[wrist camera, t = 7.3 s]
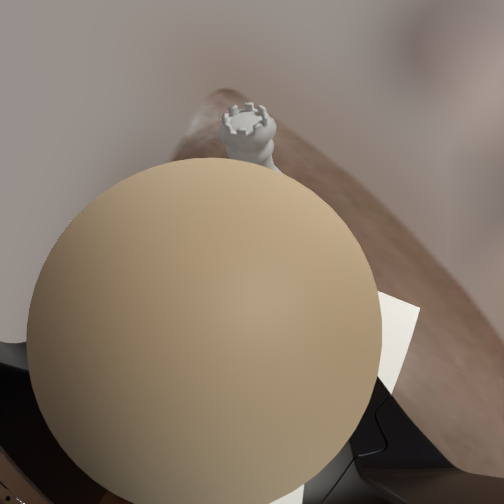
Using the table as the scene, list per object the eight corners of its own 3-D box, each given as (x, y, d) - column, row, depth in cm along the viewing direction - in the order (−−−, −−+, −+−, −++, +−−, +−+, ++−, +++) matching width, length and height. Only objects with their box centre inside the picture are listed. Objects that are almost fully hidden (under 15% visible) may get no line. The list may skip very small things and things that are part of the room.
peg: (302, 413, 13) (376, 519, 2) (228, 411, 14) (17, 455, 2) (303, 342, 15) (356, 153, 3) (231, 342, 15) (70, 176, 4)
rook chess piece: (219, 216, 22) (189, 137, 15) (241, 170, 24) (224, 89, 17) (278, 232, 21) (271, 151, 14) (296, 183, 23) (296, 98, 16)
